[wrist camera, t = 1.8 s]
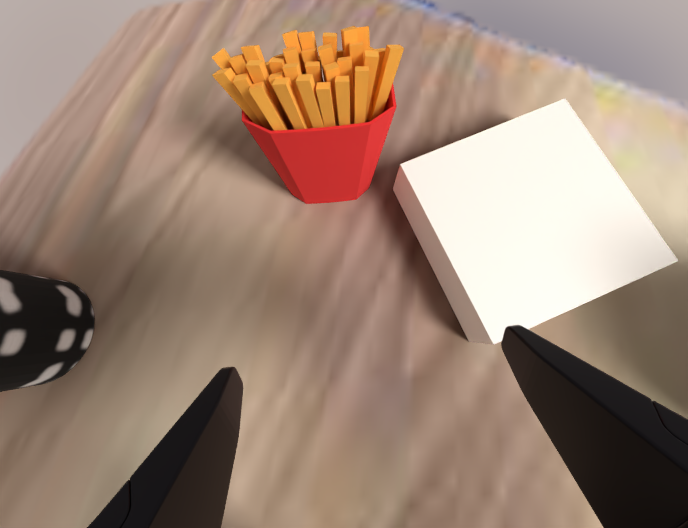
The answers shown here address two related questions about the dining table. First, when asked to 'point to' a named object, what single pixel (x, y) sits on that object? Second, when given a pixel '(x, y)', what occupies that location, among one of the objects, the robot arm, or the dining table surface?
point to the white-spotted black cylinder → (41, 329)
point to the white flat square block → (526, 222)
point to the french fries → (317, 109)
